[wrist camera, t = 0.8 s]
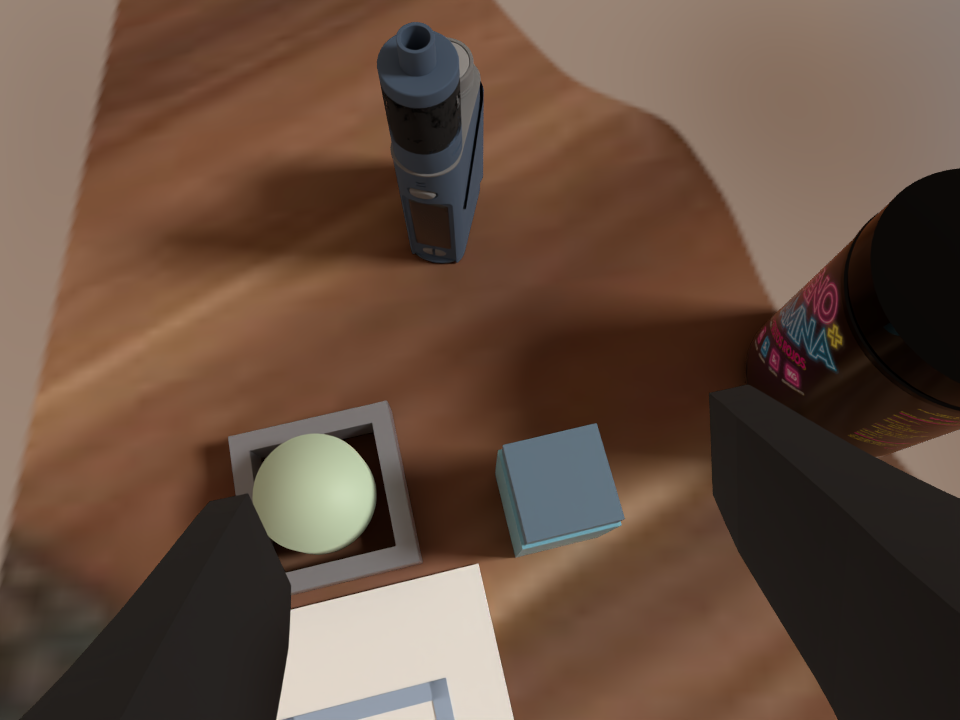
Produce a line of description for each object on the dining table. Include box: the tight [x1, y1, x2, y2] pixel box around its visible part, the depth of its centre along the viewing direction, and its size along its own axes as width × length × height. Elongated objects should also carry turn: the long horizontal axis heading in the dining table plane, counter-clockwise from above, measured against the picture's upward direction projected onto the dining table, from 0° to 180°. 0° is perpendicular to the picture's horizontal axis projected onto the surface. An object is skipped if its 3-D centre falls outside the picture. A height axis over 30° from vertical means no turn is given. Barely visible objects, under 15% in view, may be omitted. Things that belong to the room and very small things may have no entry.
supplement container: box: [745, 168, 960, 458], centre depth 24 cm, size 7×7×10 cm
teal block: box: [495, 423, 625, 558], centre depth 25 cm, size 3×3×6 cm
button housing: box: [228, 401, 423, 595], centre depth 27 cm, size 6×6×2 cm
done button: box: [252, 434, 377, 555], centre depth 25 cm, size 4×4×2 cm
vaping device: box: [377, 22, 484, 263], centre depth 26 cm, size 3×5×12 cm, turn 167°
